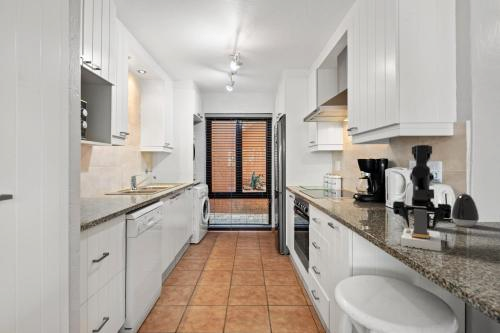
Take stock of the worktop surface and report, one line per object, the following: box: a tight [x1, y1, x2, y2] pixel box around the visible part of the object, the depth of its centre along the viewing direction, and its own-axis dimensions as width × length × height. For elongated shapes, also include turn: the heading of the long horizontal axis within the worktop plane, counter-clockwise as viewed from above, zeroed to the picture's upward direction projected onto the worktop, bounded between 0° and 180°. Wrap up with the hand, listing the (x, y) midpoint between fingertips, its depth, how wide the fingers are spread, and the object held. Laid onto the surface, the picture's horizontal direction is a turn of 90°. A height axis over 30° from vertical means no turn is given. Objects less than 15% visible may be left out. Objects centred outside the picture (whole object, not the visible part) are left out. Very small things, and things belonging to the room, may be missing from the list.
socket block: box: [400, 227, 442, 252], centre depth 104 cm, size 17×12×4 cm
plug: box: [412, 209, 429, 239], centre depth 101 cm, size 5×5×13 cm
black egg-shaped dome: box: [451, 193, 480, 228], centre depth 129 cm, size 10×10×15 cm
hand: (420, 228), depth 99 cm, fingers open, 7 cm apart
